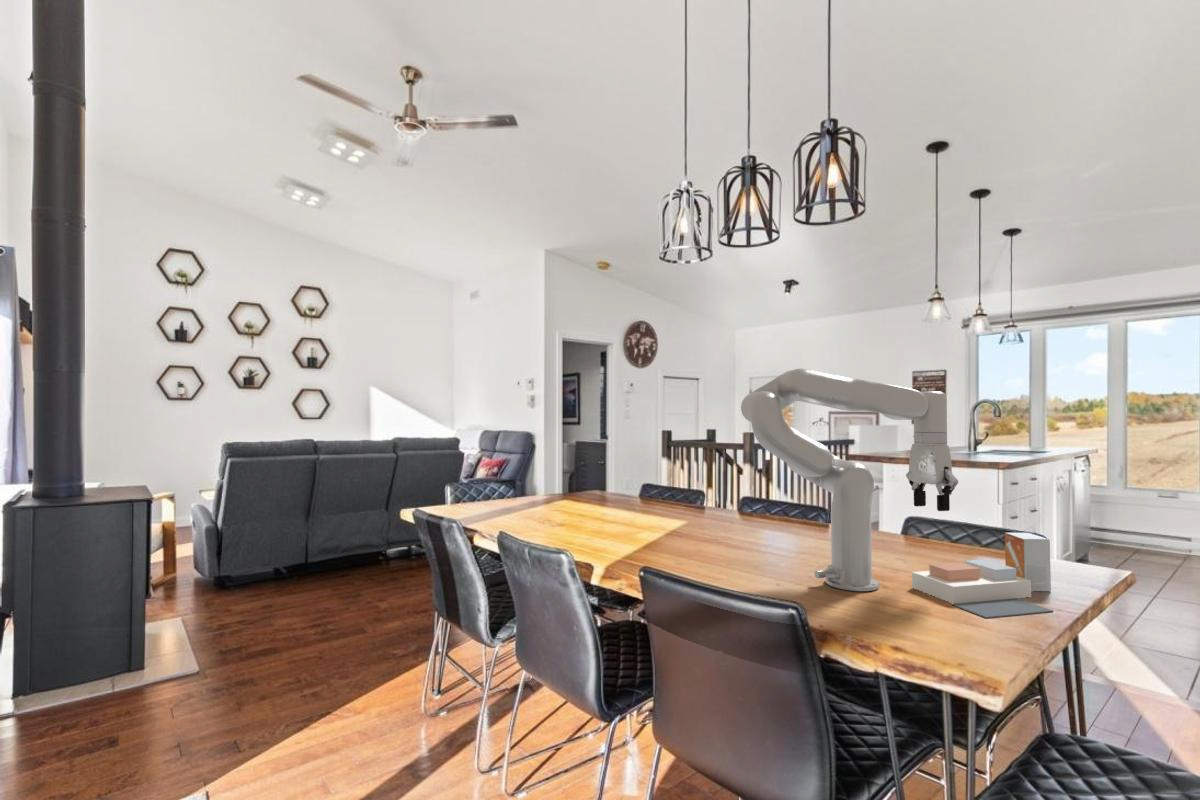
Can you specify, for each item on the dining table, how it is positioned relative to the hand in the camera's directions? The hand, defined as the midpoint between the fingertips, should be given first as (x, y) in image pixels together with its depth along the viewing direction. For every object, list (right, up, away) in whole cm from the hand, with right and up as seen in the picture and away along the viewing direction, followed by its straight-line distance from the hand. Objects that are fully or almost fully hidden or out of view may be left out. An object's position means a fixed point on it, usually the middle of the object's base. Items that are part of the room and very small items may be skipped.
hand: (931, 507), depth 152 cm
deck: (+6, -20, -7) cm, 21 cm away
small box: (+23, -20, -2) cm, 31 cm away
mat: (+5, -19, -19) cm, 27 cm away
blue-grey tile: (+12, -16, -5) cm, 20 cm away
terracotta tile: (+2, -16, -7) cm, 17 cm away
